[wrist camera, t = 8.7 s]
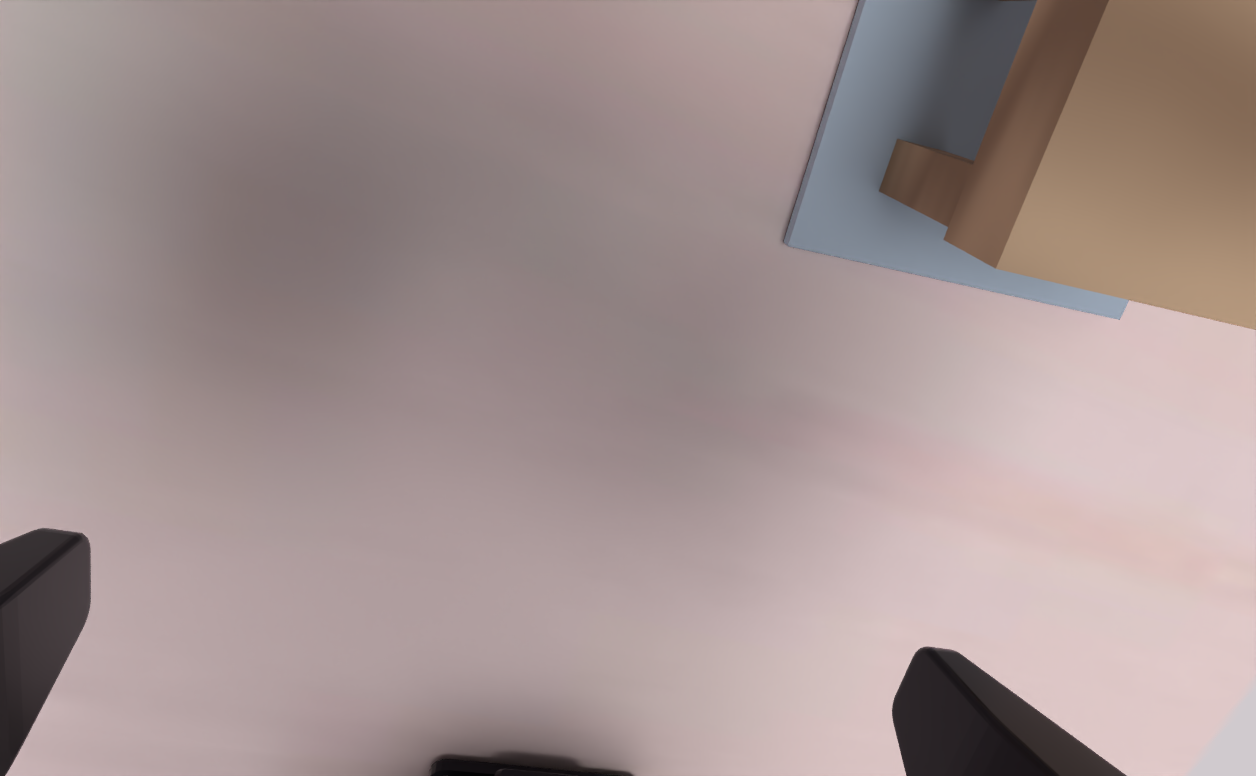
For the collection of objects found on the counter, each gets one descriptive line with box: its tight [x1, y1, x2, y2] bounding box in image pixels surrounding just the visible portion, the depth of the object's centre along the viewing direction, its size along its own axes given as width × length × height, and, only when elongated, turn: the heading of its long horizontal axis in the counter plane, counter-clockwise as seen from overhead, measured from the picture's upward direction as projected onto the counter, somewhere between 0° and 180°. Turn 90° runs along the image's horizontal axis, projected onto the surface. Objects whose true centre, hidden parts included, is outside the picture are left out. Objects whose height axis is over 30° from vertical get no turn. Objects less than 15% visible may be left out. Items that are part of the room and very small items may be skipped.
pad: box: [784, 0, 1129, 320], centre depth 19 cm, size 9×9×1 cm
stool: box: [879, 0, 1256, 330], centre depth 16 cm, size 6×6×6 cm
